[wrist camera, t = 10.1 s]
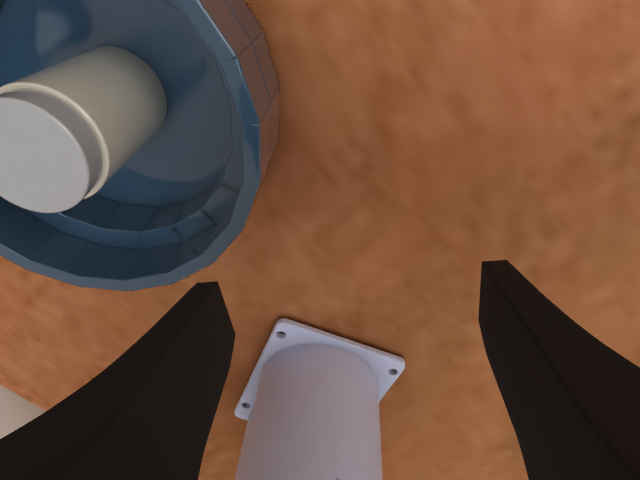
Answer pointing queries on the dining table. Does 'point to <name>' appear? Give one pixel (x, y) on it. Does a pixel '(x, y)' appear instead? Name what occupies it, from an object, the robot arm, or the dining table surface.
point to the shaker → (75, 126)
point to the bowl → (163, 149)
